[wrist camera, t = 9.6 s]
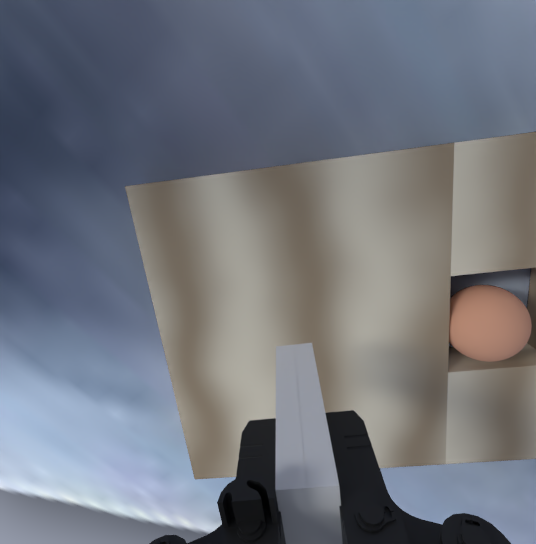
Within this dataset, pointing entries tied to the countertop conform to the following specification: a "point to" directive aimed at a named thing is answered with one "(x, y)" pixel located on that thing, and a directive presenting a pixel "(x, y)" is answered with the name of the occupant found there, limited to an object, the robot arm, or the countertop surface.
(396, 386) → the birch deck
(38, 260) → the countertop surface
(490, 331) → the ball
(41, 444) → the countertop surface
